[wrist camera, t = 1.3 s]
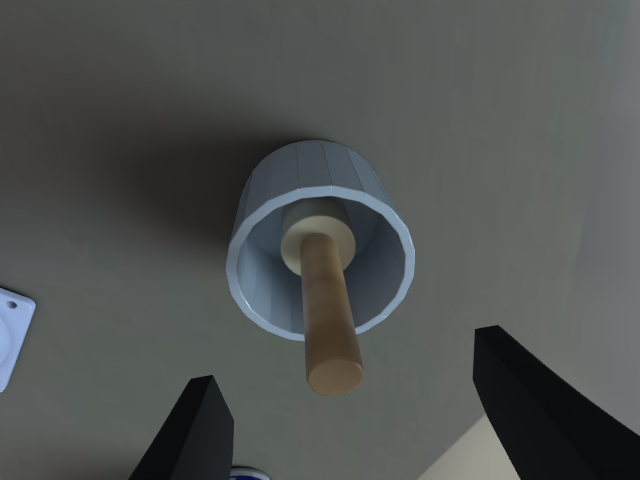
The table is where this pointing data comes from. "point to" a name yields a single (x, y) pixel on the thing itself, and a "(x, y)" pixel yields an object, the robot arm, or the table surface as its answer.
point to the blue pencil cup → (367, 224)
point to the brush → (324, 290)
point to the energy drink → (247, 474)
